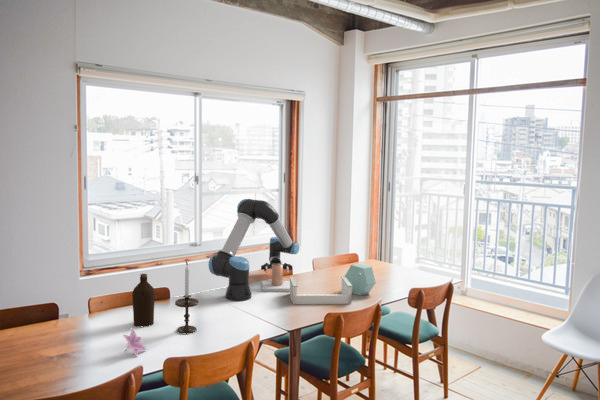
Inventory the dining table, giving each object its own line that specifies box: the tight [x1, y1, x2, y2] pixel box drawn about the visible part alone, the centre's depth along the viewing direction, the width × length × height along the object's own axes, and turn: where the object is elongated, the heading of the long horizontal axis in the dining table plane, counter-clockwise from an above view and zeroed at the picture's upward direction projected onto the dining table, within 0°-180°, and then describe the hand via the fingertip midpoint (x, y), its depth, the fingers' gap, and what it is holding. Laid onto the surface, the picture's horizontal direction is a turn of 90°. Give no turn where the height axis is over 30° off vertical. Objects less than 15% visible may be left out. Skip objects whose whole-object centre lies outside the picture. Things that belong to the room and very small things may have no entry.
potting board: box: [261, 280, 290, 293], centre depth 314 cm, size 18×18×2 cm
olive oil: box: [131, 273, 156, 328], centre depth 242 cm, size 11×11×25 cm
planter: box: [344, 263, 376, 297], centre depth 307 cm, size 17×8×21 cm
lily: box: [122, 327, 147, 357], centre depth 209 cm, size 12×12×10 cm
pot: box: [271, 262, 284, 286], centre depth 313 cm, size 7×7×13 cm
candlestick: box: [174, 260, 199, 335], centre depth 234 cm, size 11×11×35 cm
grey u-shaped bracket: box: [289, 276, 353, 305], centre depth 293 cm, size 35×20×11 cm, turn 96°
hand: (277, 270), depth 312 cm, fingers open, 13 cm apart
